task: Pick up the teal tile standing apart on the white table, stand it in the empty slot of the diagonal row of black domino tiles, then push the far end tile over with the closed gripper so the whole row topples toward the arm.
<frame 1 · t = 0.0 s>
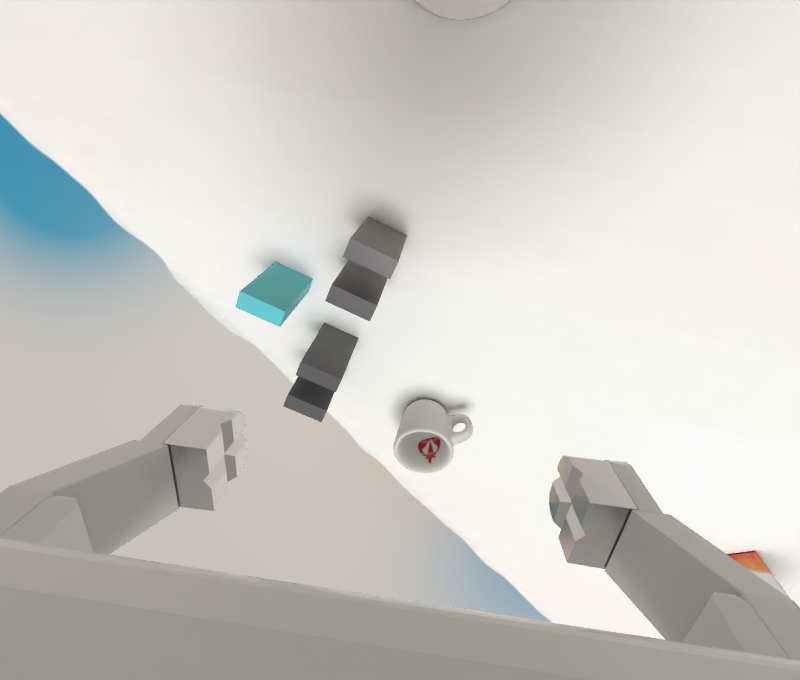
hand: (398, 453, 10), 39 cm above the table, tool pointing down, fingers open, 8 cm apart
domino 2: (338, 336, 54), on the table
cracker box: (708, 564, 69), on the table
domino 4: (367, 271, 49), on the table
domino 1: (326, 364, 56), on the table
cup: (434, 410, 58), on the table
domino teal: (292, 277, 50), on the table
domino 5: (384, 233, 46), on the table
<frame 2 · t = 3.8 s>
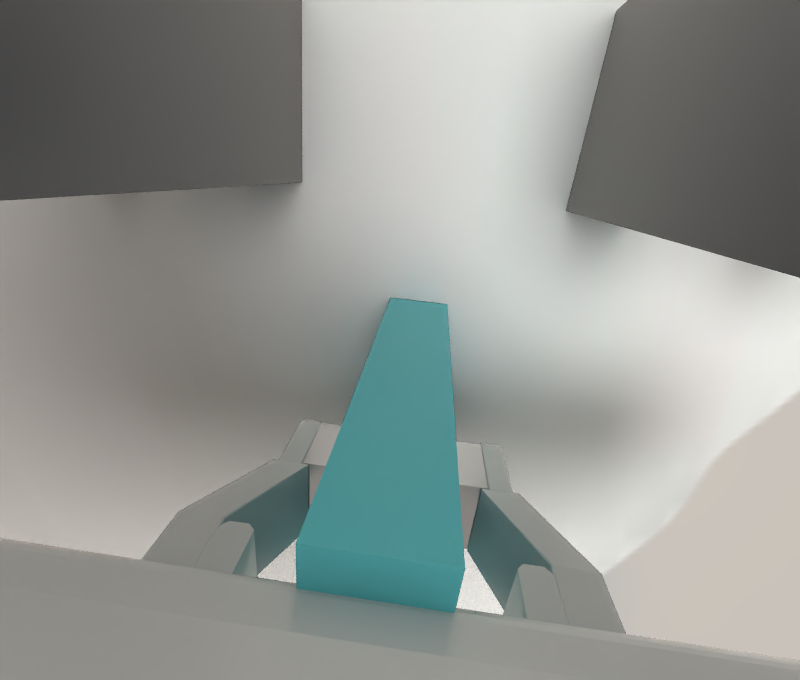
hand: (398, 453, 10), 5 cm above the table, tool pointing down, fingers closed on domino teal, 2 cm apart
domino 2: (624, 123, 11), on the table
domino 4: (268, 88, 12), on the table
domino teal: (411, 364, 15), on the table, touching gripper
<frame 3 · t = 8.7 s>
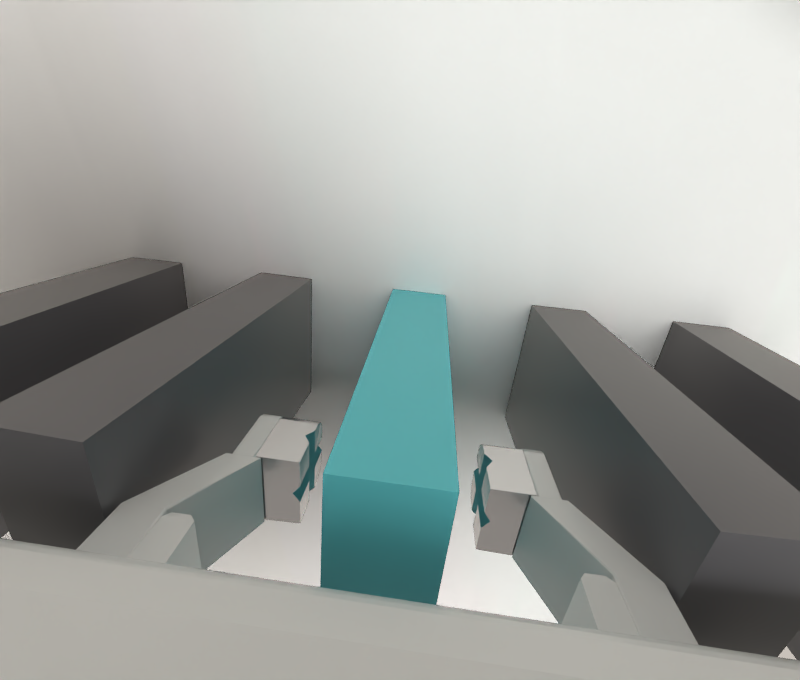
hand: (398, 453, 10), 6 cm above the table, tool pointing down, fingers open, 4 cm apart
domino 2: (542, 367, 16), on the table
domino 4: (287, 335, 16), on the table, touching gripper
domino 1: (675, 383, 15), on the table
domino teal: (412, 351, 16), on the table
domino 5: (166, 319, 16), on the table
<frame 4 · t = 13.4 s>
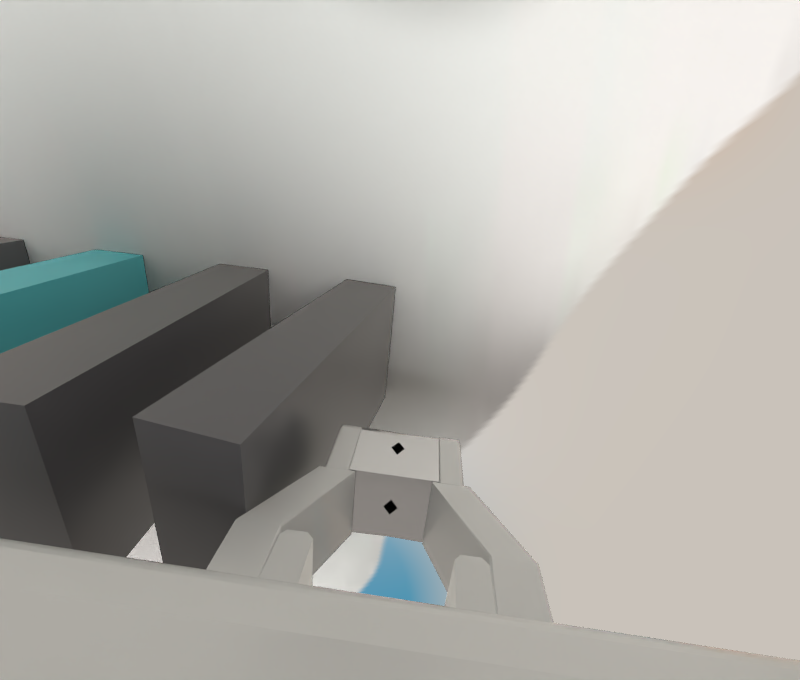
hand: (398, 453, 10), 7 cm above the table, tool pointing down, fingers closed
domino 2: (247, 324, 17), on the table
domino 4: (18, 294, 17), on the table
domino 1: (366, 341, 16), on the table, tilted 8°, touching gripper
domino teal: (130, 309, 17), on the table
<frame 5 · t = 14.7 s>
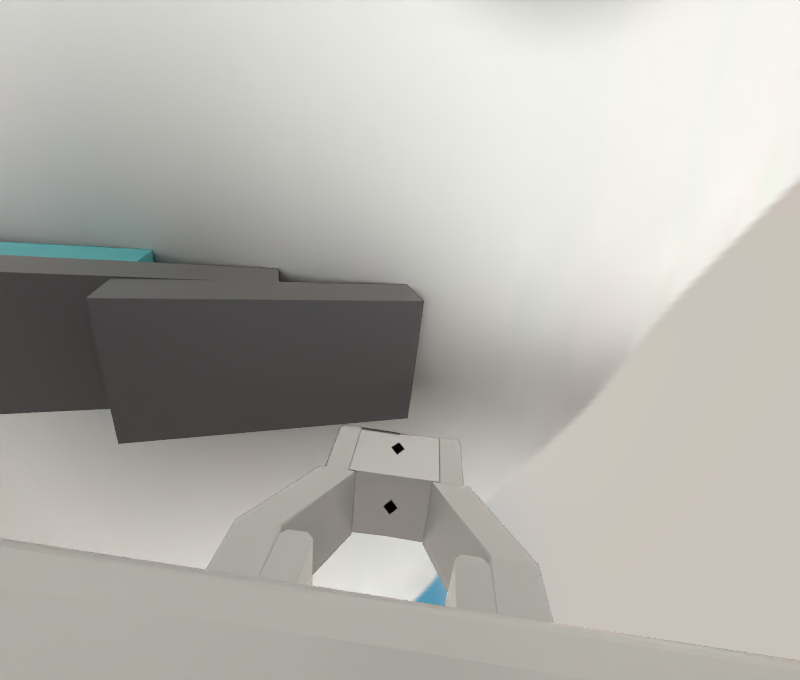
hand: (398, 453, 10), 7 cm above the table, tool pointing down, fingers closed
domino 2: (278, 334, 16), point 1 cm above the table, tilted 68°, touching domino 1
domino 1: (407, 351, 16), point 1 cm above the table, tilted 68°, touching domino 2
domino teal: (154, 315, 16), point 1 cm above the table, tilted 69°
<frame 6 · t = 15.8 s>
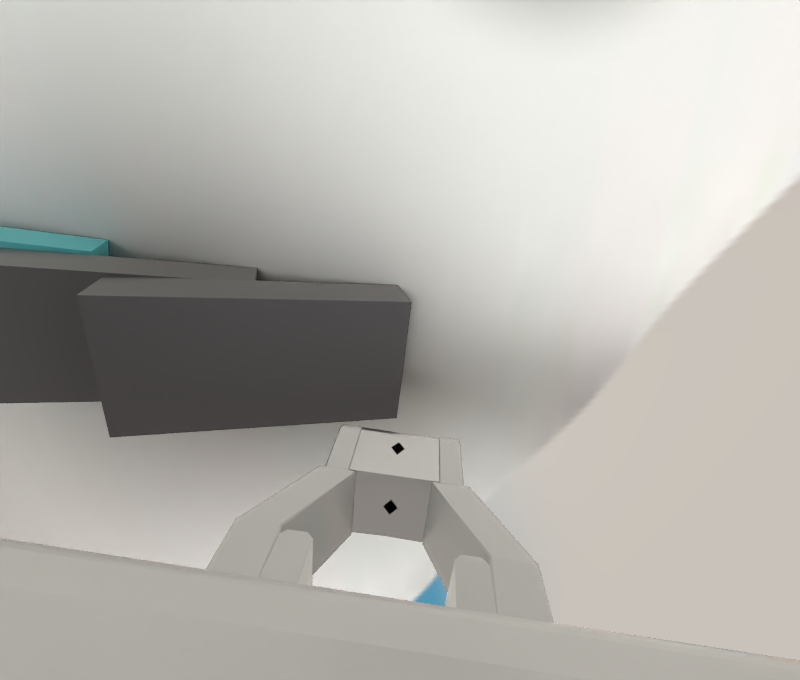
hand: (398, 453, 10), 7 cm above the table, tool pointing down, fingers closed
domino 2: (255, 333, 16), point 1 cm above the table, tilted 69°, touching domino 1
domino 1: (396, 352, 16), point 1 cm above the table, tilted 70°, touching domino 2
domino teal: (104, 305, 16), point 1 cm above the table, tilted 66°
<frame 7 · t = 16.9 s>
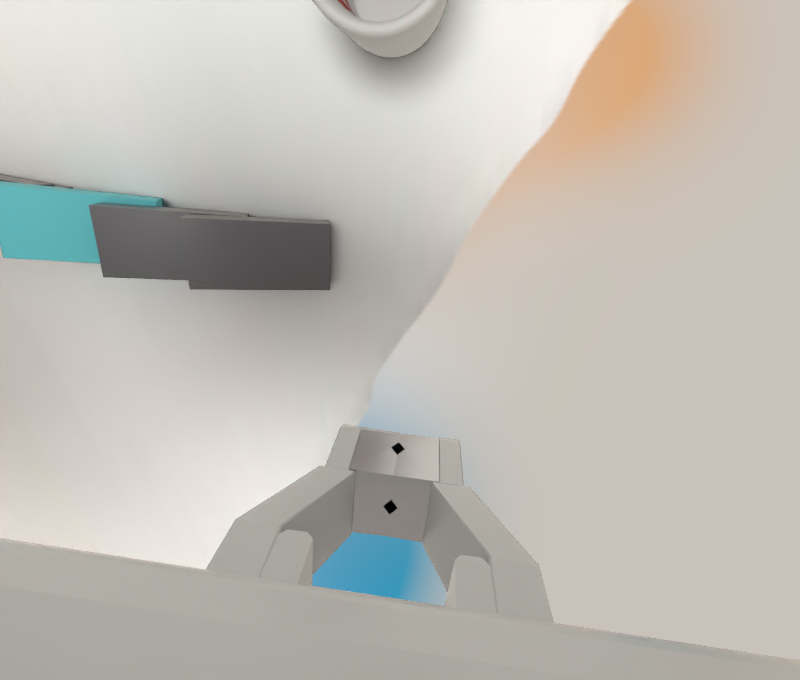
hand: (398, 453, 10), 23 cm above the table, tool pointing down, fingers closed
domino 2: (248, 247, 31), point 1 cm above the table, tilted 72°, touching domino 1
domino 1: (329, 255, 30), point 1 cm above the table, tilted 72°, touching domino 2
domino teal: (162, 232, 31), point 1 cm above the table, tilted 68°
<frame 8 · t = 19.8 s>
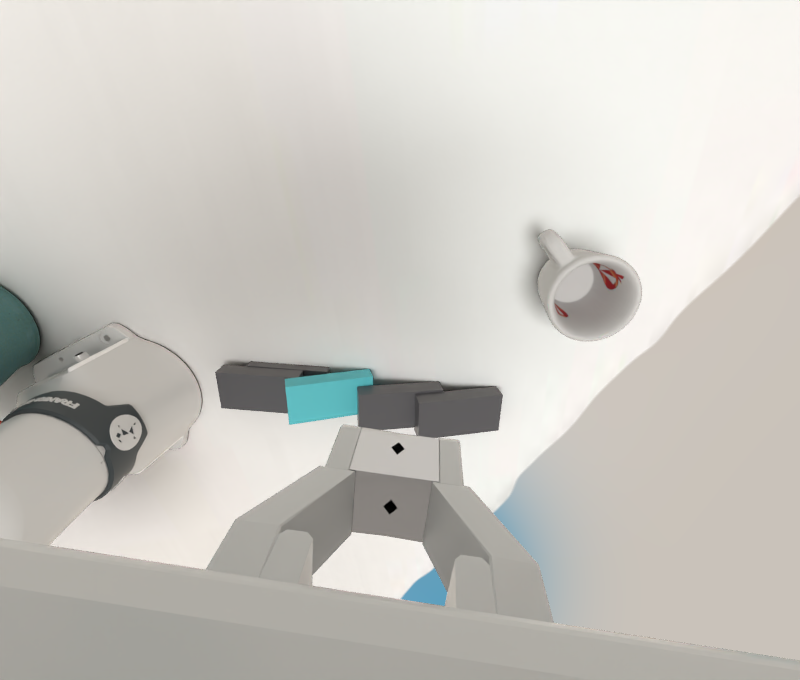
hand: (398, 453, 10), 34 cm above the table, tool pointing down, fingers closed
domino 2: (439, 403, 48), point 1 cm above the table, tilted 75°, touching domino 1, domino teal
domino 4: (301, 392, 48), point 2 cm above the table, tilted 90°, touching domino 5, domino teal
domino 1: (496, 408, 47), point 1 cm above the table, tilted 74°, touching domino 2
cup: (559, 267, 41), on the table
domino teal: (371, 390, 48), point 1 cm above the table, tilted 68°, touching domino 2, domino 4
domino 5: (329, 385, 49), on the table, tilted 90°, touching domino 4
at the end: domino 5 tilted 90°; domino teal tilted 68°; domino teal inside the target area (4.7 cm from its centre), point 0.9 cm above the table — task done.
